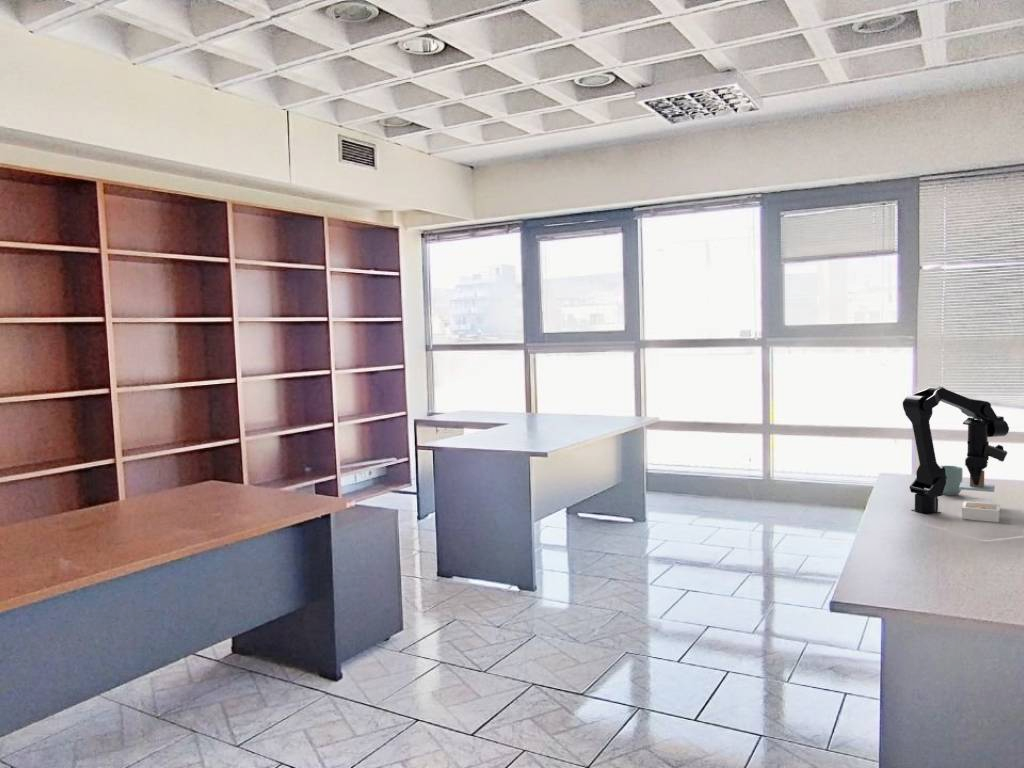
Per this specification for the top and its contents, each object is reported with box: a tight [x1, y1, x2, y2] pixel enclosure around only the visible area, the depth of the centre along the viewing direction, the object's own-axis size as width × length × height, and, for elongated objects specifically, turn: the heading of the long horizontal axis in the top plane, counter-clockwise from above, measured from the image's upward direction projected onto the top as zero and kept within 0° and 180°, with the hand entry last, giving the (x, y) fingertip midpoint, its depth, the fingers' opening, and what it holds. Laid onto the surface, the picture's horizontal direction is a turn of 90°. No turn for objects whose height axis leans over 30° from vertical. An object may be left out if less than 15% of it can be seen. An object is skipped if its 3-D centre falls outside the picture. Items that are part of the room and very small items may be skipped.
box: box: [961, 501, 1001, 523], centre depth 250 cm, size 10×10×4 cm
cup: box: [941, 465, 963, 496], centre depth 286 cm, size 8×8×10 cm
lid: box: [959, 470, 996, 493], centre depth 264 cm, size 10×10×6 cm
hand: (976, 483), depth 264 cm, fingers closed on lid, 4 cm apart
